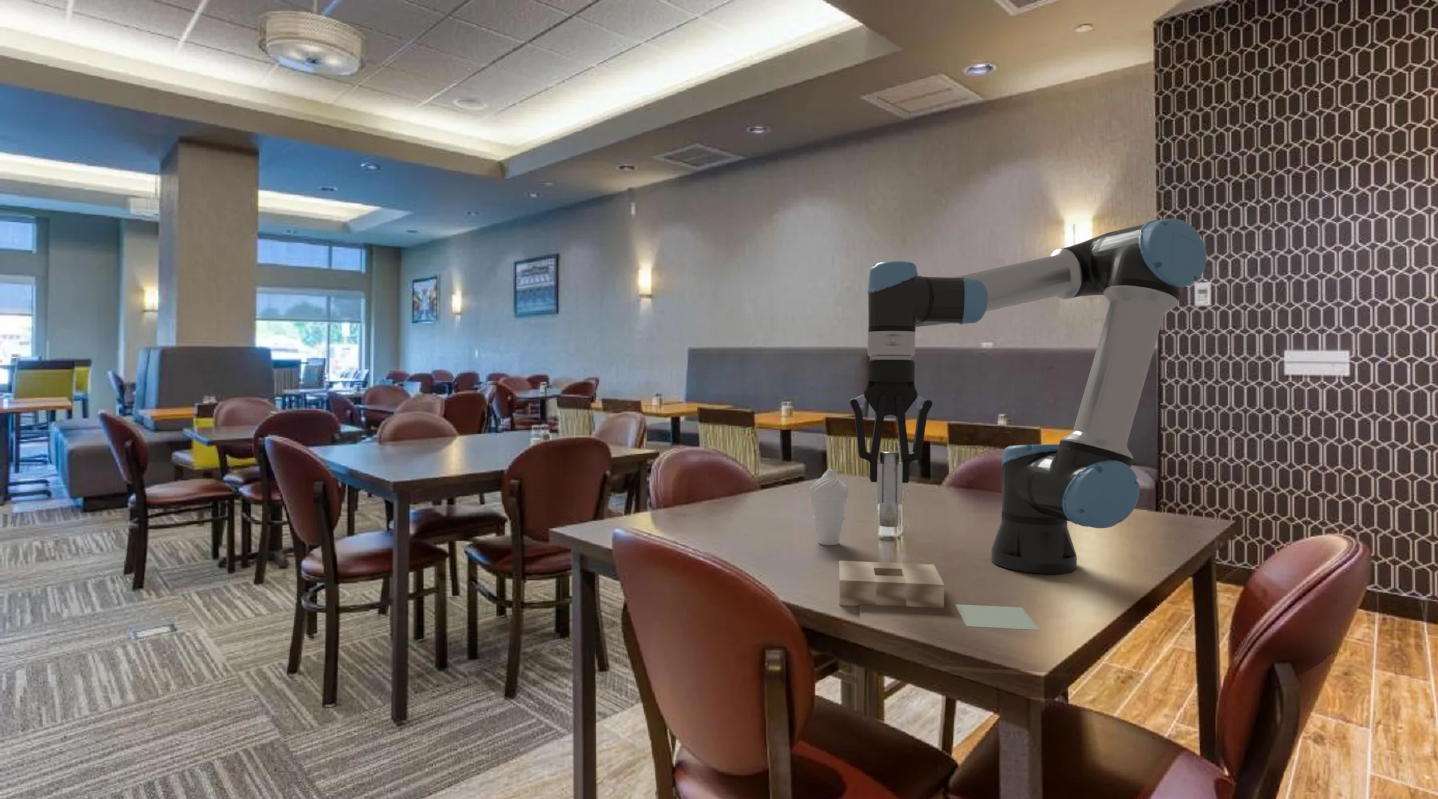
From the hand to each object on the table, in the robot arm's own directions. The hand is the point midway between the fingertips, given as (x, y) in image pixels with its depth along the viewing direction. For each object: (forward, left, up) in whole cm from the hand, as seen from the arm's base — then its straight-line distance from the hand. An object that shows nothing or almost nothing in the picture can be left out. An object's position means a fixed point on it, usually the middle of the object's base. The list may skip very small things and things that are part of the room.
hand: (888, 502), depth 121 cm
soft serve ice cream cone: (+10, -36, -16) cm, 41 cm away
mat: (-15, +9, -16) cm, 23 cm away
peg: (0, 0, -4) cm, 4 cm away
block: (0, 0, -16) cm, 16 cm away
